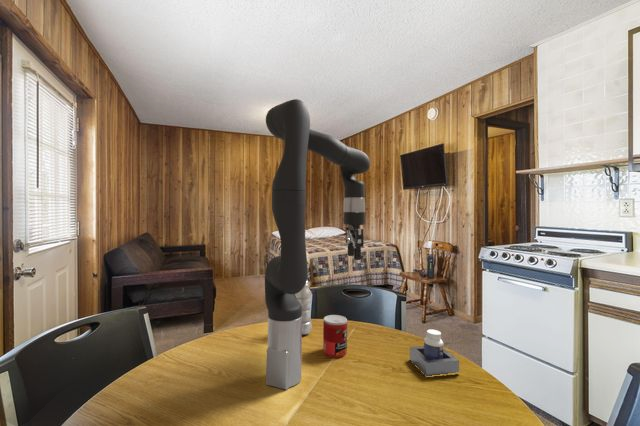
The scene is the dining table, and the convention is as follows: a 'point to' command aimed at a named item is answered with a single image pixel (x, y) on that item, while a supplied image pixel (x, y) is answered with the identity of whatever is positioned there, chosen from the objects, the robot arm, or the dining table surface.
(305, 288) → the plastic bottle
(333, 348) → the canned food
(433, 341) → the pill bottle
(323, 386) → the dining table surface
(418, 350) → the socket cup
